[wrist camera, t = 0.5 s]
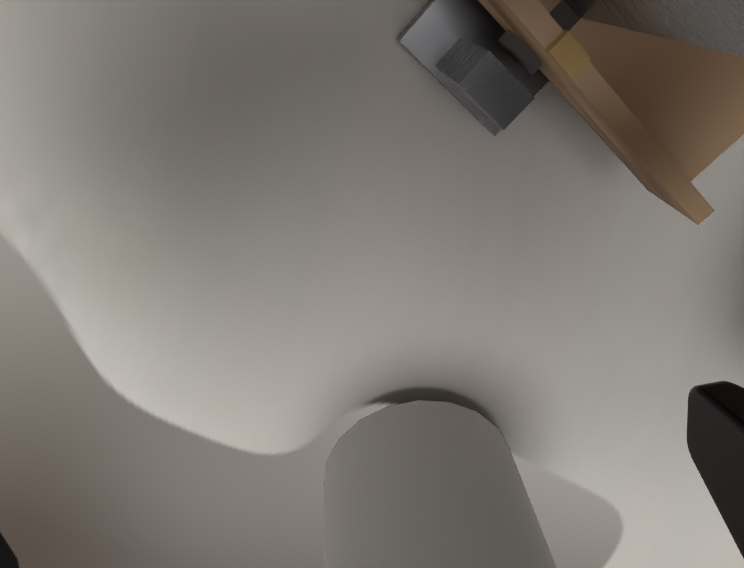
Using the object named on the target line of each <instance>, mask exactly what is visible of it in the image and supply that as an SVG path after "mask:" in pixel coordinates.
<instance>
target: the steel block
mask: <svg viewBox="0 0 744 568" xmlns="http://www.w3.org/2000/svg"><path fill="white" fill-rule="evenodd" d="M564 1H565V2H566V3H567V4H568V5H569V7H570V8H571V9H572V10H573V12H574V13H575V14H576V15H577V16H578V17H579V18H583V19H587V20H591V21H596V22H600V23H604V24H608V25H612V26H616V27H621V28H625V29H629V30H633V31H637V32H641V33H646V34H650V35H654V36H658V37H662V38H666V39H671V40H675V41H679V42H683V43H687V44H691V45H696V46H700V47H704V48H708V49H712V50H716V51H720V52H725V53H729V54H733V55H737V56H741V57H744V0H564Z"/></svg>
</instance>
